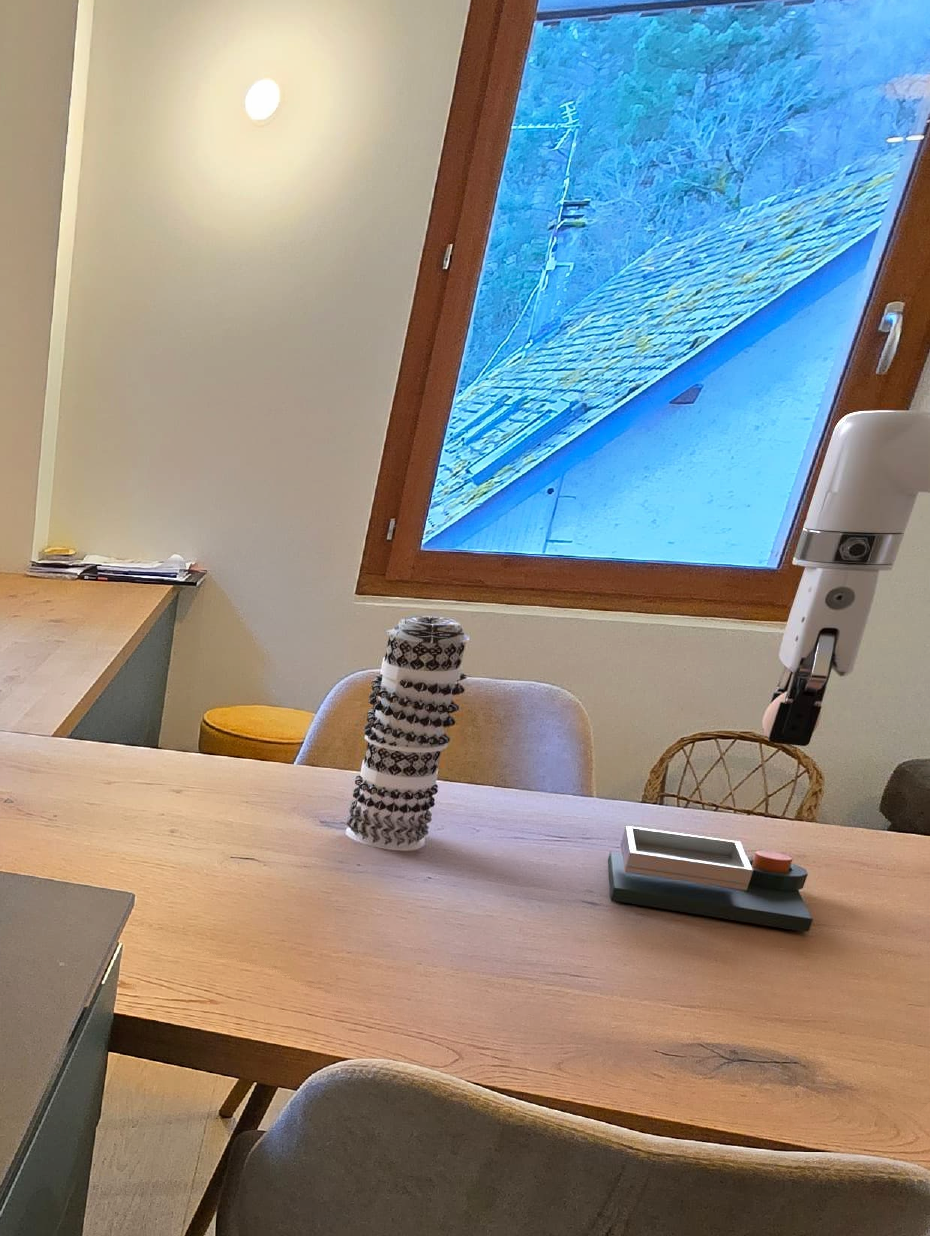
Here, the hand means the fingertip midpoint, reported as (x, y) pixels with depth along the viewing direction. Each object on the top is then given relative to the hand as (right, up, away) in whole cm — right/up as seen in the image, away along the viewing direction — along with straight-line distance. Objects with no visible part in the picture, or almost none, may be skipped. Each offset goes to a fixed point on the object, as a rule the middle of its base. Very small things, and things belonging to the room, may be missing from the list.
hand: (784, 736), depth 121 cm
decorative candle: (-32, -9, +17) cm, 38 cm away
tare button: (-1, -13, +1) cm, 14 cm away
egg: (0, -1, 0) cm, 1 cm away
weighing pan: (-10, -13, 0) cm, 17 cm away
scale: (-8, -16, +1) cm, 18 cm away
